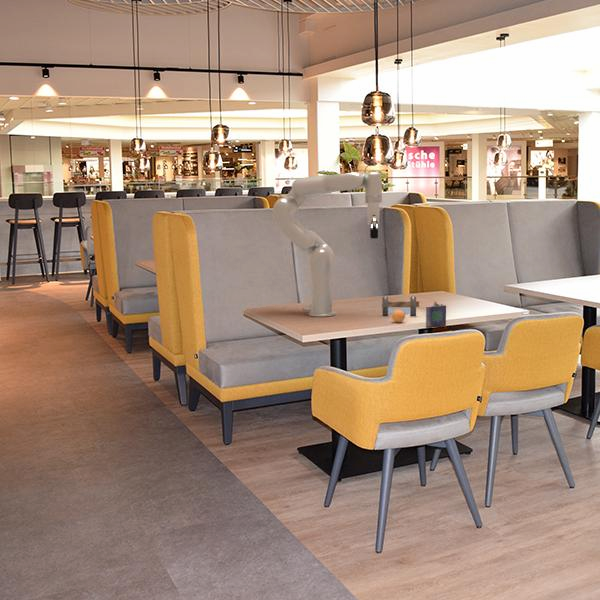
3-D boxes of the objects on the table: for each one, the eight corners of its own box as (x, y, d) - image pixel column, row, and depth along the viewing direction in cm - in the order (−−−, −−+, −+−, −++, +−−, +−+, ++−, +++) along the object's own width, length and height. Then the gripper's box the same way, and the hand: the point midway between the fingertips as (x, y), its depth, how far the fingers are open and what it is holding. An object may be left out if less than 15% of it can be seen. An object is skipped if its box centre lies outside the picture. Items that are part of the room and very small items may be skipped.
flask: (427, 327, 334) (427, 302, 332) (424, 326, 336) (424, 301, 335) (447, 326, 337) (447, 301, 335) (443, 325, 339) (443, 300, 338)
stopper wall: (382, 306, 391) (382, 301, 391) (382, 306, 393) (382, 301, 393) (419, 306, 388) (419, 301, 388) (419, 306, 390) (419, 301, 390)
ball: (391, 323, 345) (391, 310, 344) (392, 321, 351) (392, 308, 350) (404, 323, 344) (404, 310, 344) (404, 321, 350) (404, 308, 349)
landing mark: (384, 313, 371) (384, 313, 371) (385, 308, 385) (385, 308, 385) (414, 313, 369) (414, 313, 369) (414, 308, 383) (414, 308, 383)
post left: (382, 316, 363) (382, 297, 362) (382, 315, 366) (382, 296, 364) (388, 316, 363) (387, 297, 361) (388, 315, 365) (388, 296, 364)
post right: (410, 316, 361) (410, 297, 360) (410, 315, 364) (410, 296, 362) (416, 316, 361) (416, 297, 360) (416, 315, 363) (416, 296, 362)
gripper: (364, 199, 368) (365, 236, 370) (365, 200, 350) (366, 239, 353) (381, 199, 367) (381, 236, 370) (382, 200, 350) (383, 238, 352)
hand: (374, 237), depth 361 cm, fingers open, 9 cm apart
